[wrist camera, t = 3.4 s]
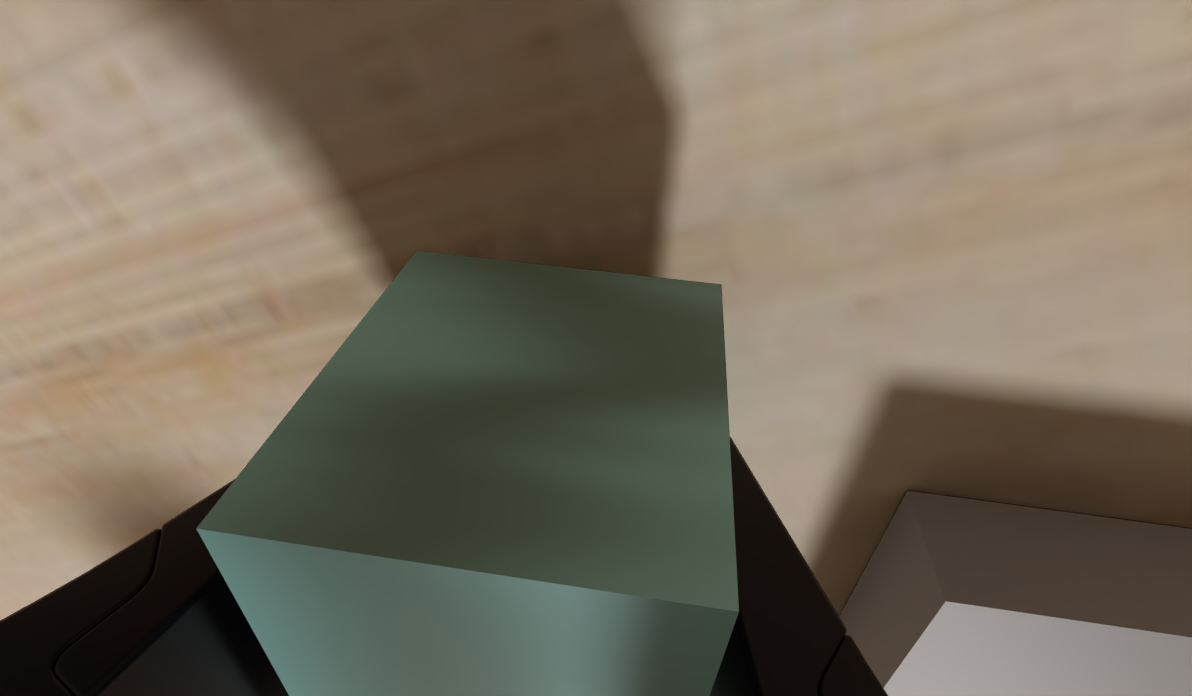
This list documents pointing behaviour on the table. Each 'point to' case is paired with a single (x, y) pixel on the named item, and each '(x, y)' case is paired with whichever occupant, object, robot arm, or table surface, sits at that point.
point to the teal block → (498, 493)
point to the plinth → (1024, 603)
